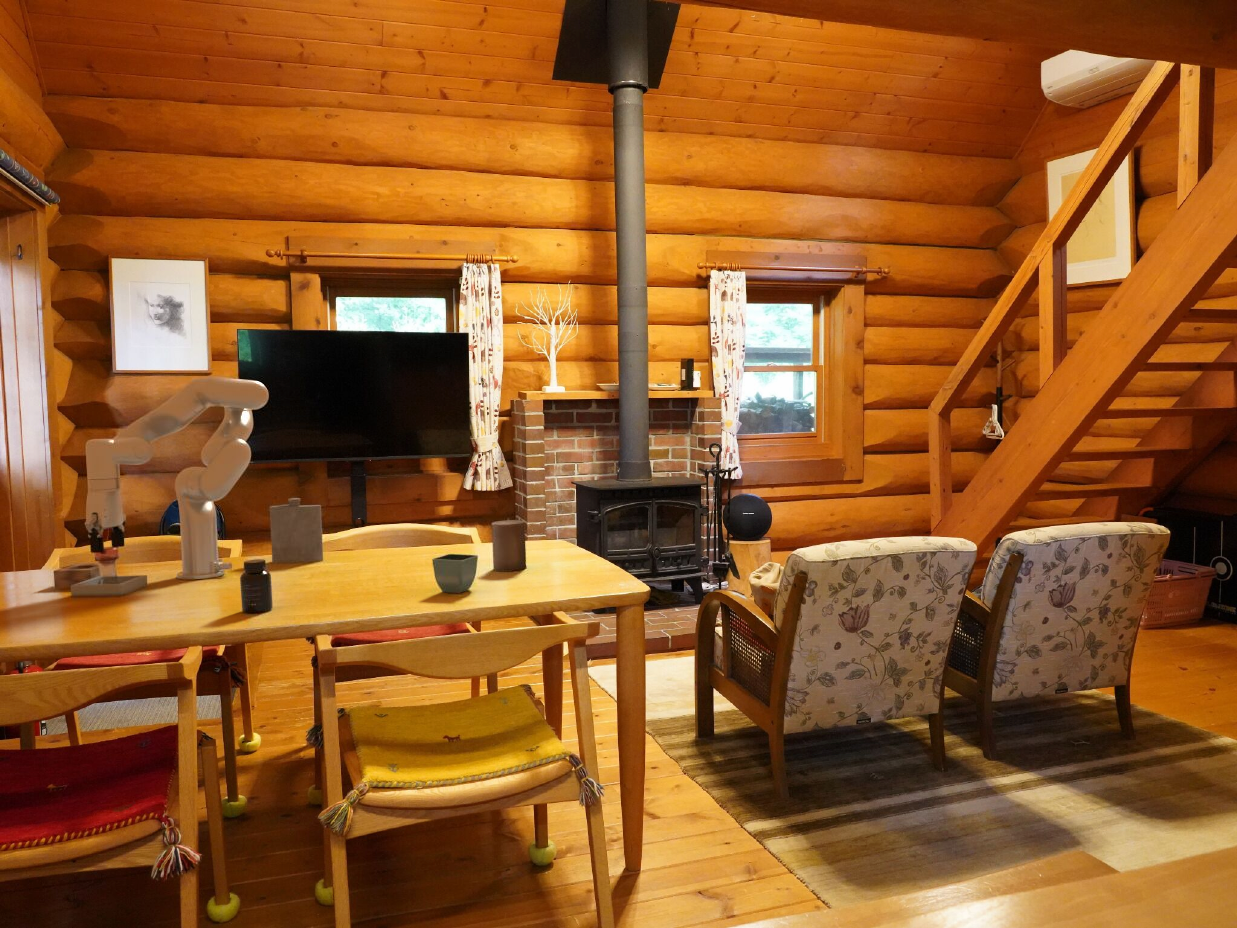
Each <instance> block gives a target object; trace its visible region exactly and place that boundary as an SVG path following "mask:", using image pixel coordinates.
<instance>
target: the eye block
mask: <svg viewBox="0 0 1237 928" xmlns="http://www.w3.org/2000/svg"><path fill="white" fill-rule="evenodd" d="M98 576H100V571H99V563H76V564H72V565H69V566H65V567H61V568H58V569H54V570H53V581H54V582H53V583H54V590H63V589H65V590H66V589H68V590H71V585H74V584H77V583H80V582H83V581H86V580H89V579H92V578H95V577H98Z"/></svg>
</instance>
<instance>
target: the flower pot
mask: <svg viewBox="0 0 1237 928" xmlns="http://www.w3.org/2000/svg"><path fill="white" fill-rule="evenodd" d="M478 558H479V556H478V555H476V554H459V553H447V554H444V555H440V556H438V557H435V558H432V559H431V560H432V567H433V573H434V578H435V582H436V585H438V587H439V589H440V590H441V591H442V593H453V594H461V593H463V592H466V591H469V590H470V588H471V587H472V585H473V583H474V581H475V579H476V575H477V567H478Z"/></svg>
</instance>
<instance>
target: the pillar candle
mask: <svg viewBox="0 0 1237 928" xmlns="http://www.w3.org/2000/svg"><path fill="white" fill-rule="evenodd" d="M525 522H526V521H524V520H518V519H517V520H516V519H513V520H512V519H510V518H509V517H507V520H498V521H493V522H491V539H492V540H491V541H492V562H493V564H492V565H493V570H494V571H497V572H515V571H516V572H517V571H522V570H525V569H527V553H526V550H527V549H526V527H525V524H526V523H525Z"/></svg>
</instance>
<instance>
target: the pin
mask: <svg viewBox="0 0 1237 928" xmlns="http://www.w3.org/2000/svg"><path fill="white" fill-rule="evenodd" d="M119 550H120V549H119V547H112V546H104V552H102V553H94V561H95V562H98V564H99V571H100V583H101V584H118V579H117V576H118V568H117V560H119V559H120V551H119Z"/></svg>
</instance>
